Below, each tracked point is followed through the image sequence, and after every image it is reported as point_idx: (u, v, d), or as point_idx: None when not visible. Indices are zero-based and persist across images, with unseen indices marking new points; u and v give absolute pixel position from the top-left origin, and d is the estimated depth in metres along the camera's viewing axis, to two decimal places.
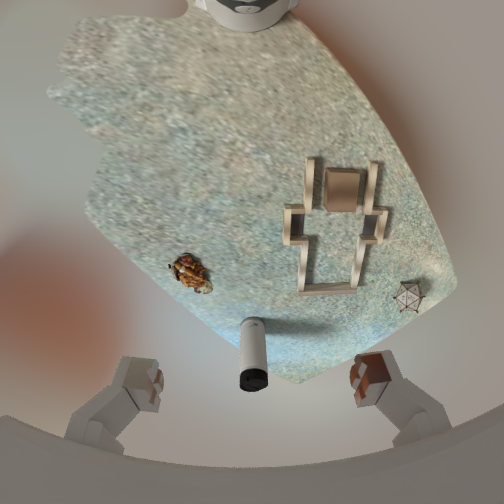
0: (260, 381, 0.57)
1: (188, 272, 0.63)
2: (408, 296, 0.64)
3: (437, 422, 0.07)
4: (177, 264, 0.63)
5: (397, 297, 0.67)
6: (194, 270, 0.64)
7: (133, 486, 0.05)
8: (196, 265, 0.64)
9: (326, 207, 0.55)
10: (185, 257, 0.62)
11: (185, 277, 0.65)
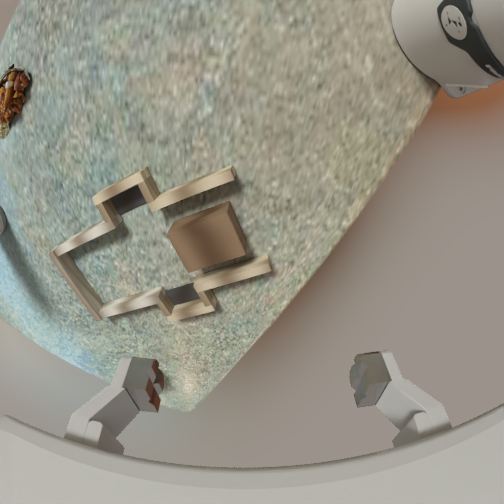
0: None
1: (7, 93, 0.23)
2: None
3: (437, 422, 0.07)
4: (13, 73, 0.23)
5: None
6: (12, 99, 0.25)
7: (133, 486, 0.05)
8: (20, 98, 0.26)
9: (172, 229, 0.35)
10: (23, 78, 0.24)
11: (2, 94, 0.24)
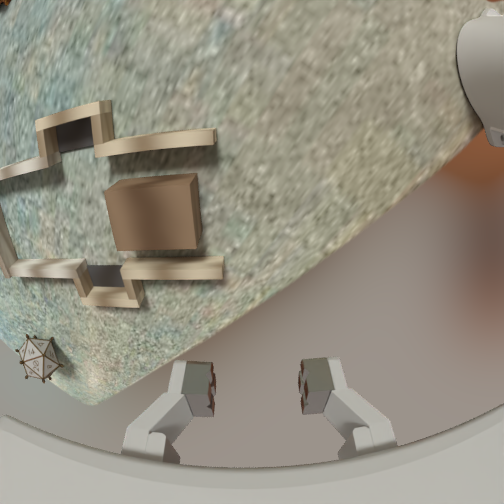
0: None
1: None
2: (36, 360, 0.33)
3: (380, 439, 0.07)
4: None
5: (29, 341, 0.34)
6: None
7: (133, 486, 0.05)
8: None
9: (113, 187, 0.24)
10: None
11: None
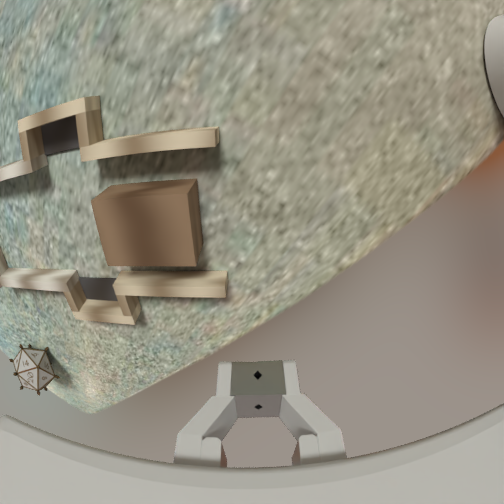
0: None
1: None
2: (30, 372, 0.30)
3: (328, 449, 0.07)
4: None
5: (23, 352, 0.31)
6: None
7: (133, 486, 0.05)
8: None
9: (101, 195, 0.20)
10: None
11: None
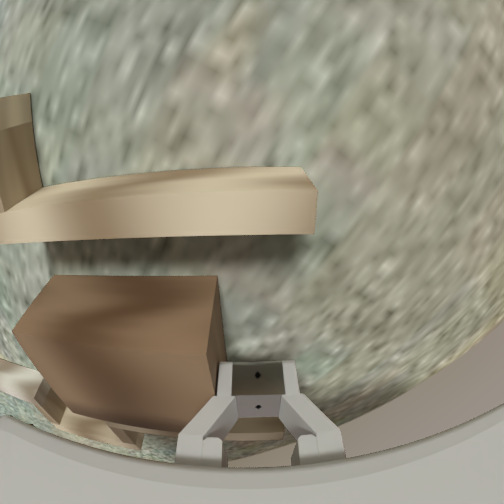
0: None
1: None
2: None
3: (327, 449, 0.07)
4: None
5: None
6: None
7: (133, 486, 0.05)
8: None
9: (30, 315, 0.09)
10: None
11: None
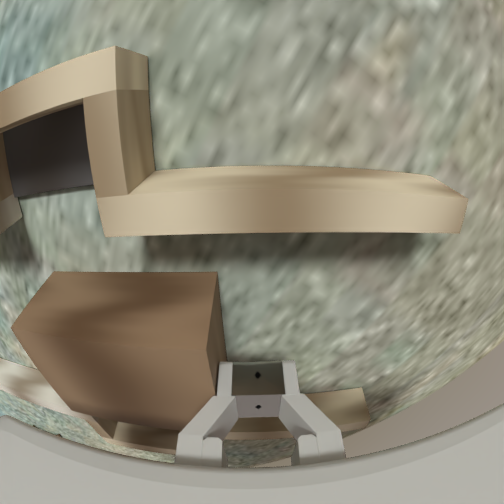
0: None
1: None
2: None
3: (327, 449, 0.07)
4: None
5: None
6: None
7: (133, 486, 0.05)
8: None
9: (29, 312, 0.09)
10: None
11: None
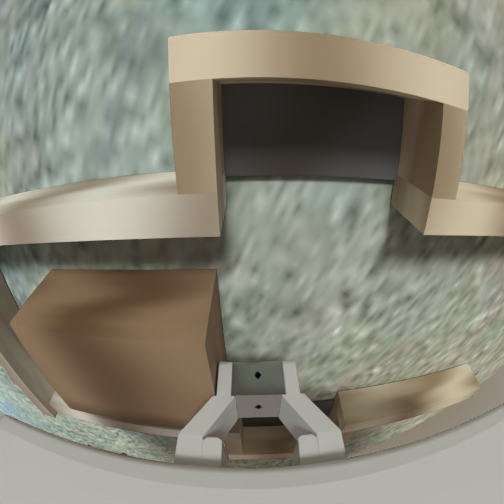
0: None
1: None
2: None
3: (327, 449, 0.07)
4: None
5: None
6: None
7: (133, 486, 0.05)
8: None
9: (28, 307, 0.09)
10: None
11: None
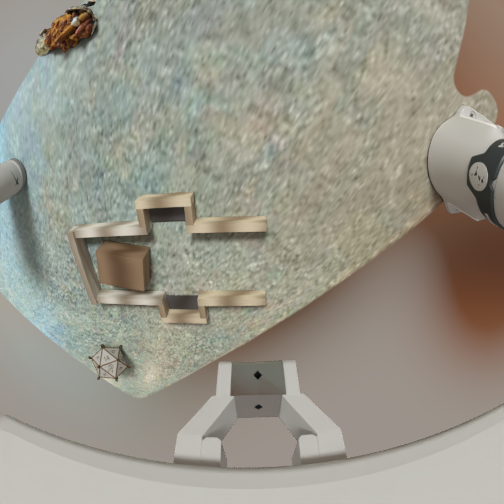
0: None
1: (67, 29, 0.23)
2: (111, 364, 0.50)
3: (328, 449, 0.07)
4: (86, 15, 0.23)
5: (103, 350, 0.51)
6: (67, 37, 0.25)
7: (133, 486, 0.05)
8: (74, 41, 0.26)
9: (101, 249, 0.40)
10: (88, 29, 0.25)
11: (65, 22, 0.23)
